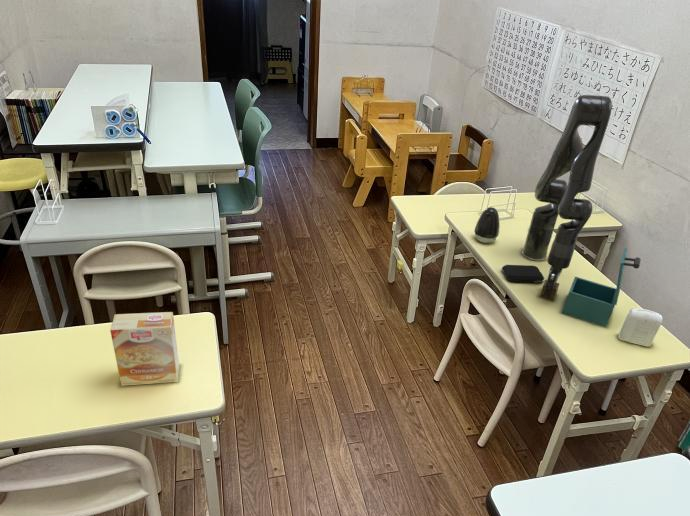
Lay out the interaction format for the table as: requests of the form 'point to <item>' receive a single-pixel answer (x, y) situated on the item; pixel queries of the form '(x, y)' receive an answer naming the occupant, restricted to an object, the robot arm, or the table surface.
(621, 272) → the lid
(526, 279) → the carrying case
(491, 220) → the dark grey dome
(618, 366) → the table surface
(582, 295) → the chest
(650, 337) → the photo printer
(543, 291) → the block
